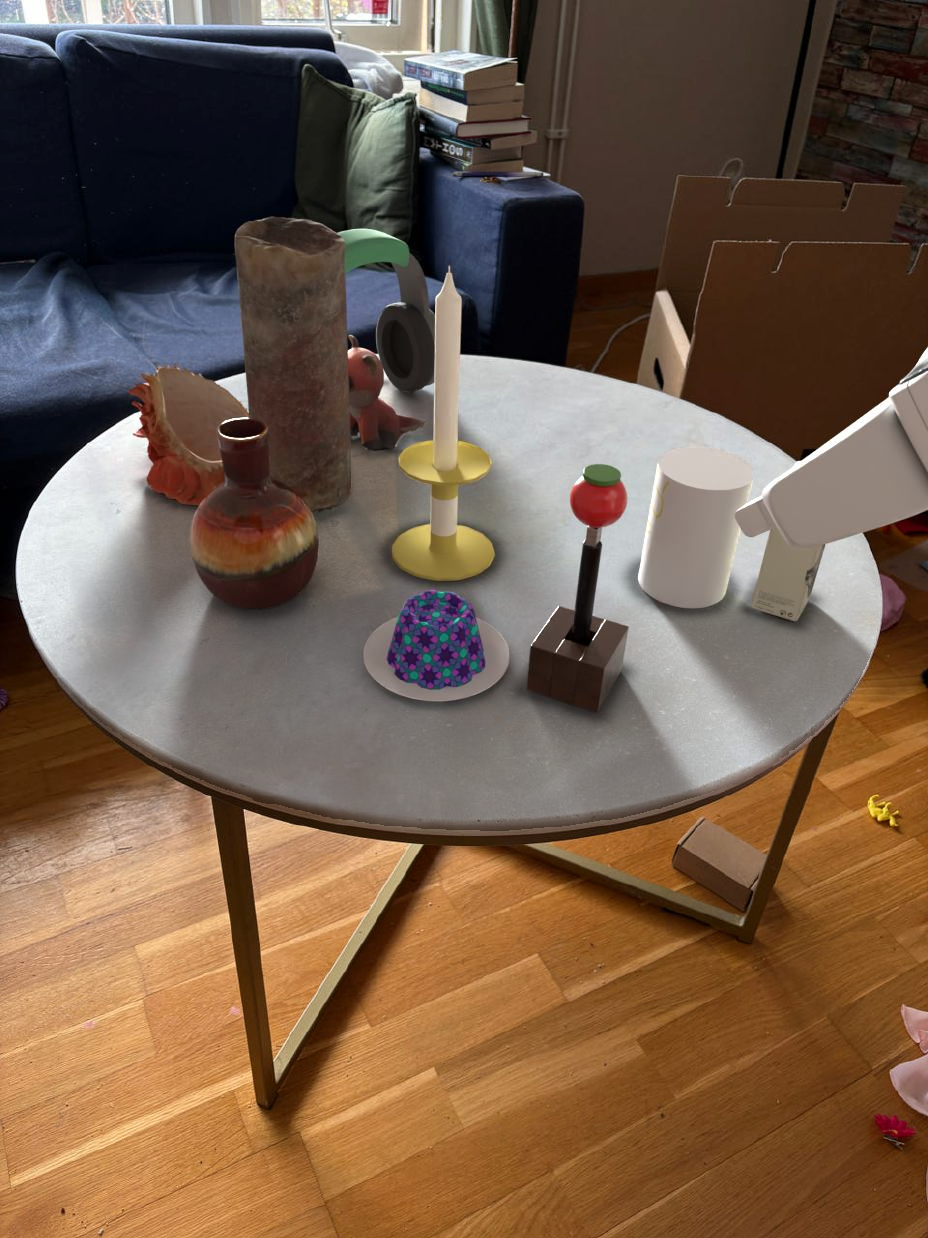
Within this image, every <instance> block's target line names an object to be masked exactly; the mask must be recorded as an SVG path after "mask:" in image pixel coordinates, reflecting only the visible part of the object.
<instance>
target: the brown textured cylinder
mask: <svg viewBox="0 0 928 1238" xmlns="http://www.w3.org/2000/svg"><path fill="white" fill-rule="evenodd" d="M338 233H339V232H336V231H334V230H332V229H331V228H329V227H328V226H326V225H324V224H323V223H320V222H317V221H313V220H311V219H305V218H300V219H298V218H293V217H287V218H286V217H281V216H278V217H277V216H269V217H266V218H262V219H255V220H253V221H247V222H244V223H243V224H242V225H240V227H238V228H237V230H236V232H235V235H234V253H235V254H234V255H235V263H236V264H235V265H236V278H237V287H238V298H239V299H238V301H239V313H240V326H241V333H242V335H241V336H242V344H243V345H242V346H243V360H244V370H245V383H246V384H245V385H246V393H247V395H246V396H247V412H248V413H249V418H251V419H257V420H260V421H262V422H264V423H265V424H266V425H267V426H268V435H269V468H270V476H271V478H273V479H276V480H278V481H280V482H282V483H284V484H286V485H288V486H289V487H290V488H292V489H293V490H294V491H296V492H297V493H298V494H299V495H300V496H301V497H302V498H303V499H304V500H305V502H306V503H307V505H308V506H309V508H310V510H311V511H312V513H313V512H316V513H321V512H323V511H328V510H332V509H335V508H337V507H339V506H341V505H343V504H344V503H345V501H347V500H348V498H349V497H350V495H351V493H352V486H353V483H352V481H353V478H352V438H351V437H352V436H351V434H350V404H349V380H348V350H349V344H348V319H347V318H348V317H347V316H348V314H347V309H348V308H347V287H346V285H347V284H346V283H347V282H346V274H345V241H344V239H343V238H342V237H341V236H340V235H339V234H338Z"/></svg>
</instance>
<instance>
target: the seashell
mask: <svg viewBox="0 0 928 1238" xmlns="http://www.w3.org/2000/svg"><path fill="white" fill-rule="evenodd" d="M140 377H141V378H142V379H143V380H144V381H145V382H138V383H135V387H132V388H129V389H128V390H127V391H128V394H130V395H133V396H136V397H137V398H139V399H140V401H141V402H143V403H144V405H143V404H141V403H140V402H138V401H136V400H133V401H132V402H131V403H130V404H131V405H133V406H134V407H136V408H138V410H139V411H140V413H141V415H140V417H139V421H140V424H141V426H140V428H138V430H136V432H132V436H134V437H136V438H140V439H147V441H148V446H146V447H147V449H146V450H147V451H146V453H147V454H148V455H147V457H148V459H149V460H150V461H151V463H152V466H151V467H150V470H149V471H148V473H147V476H146V482H147V486H149V487H150V488H151V489H152V491H153V492H156V493H157V494H164V495H165V497H166V498H168V499H171V500H176V501H177V502H179V504H180V505H188V506H189V505H190V506H199V505H200V503H201V501H202V500H203V499H204V498H205V497H206V496H207V494H208V493H209V492H210V491H212V490H213V489H214V488H215V487H217V486H218V485H220V484H221V483H223V482H225V474H224V467H223V462H222V457H221V453H220V448H219V444H218V439H217V433H216V430H217V428H218V426H219V425H220V424H222V423H224V422H226V421H229V420H233V419H239V418H249V411H248V407H247V408H246V407H245V406H244V405H243V403H242V401H240V400H238V399H237V397H235V396H234V395H233V394H232V393H231V392H230V391H229V390H227V388H225V387H223V386H221V385H220V384H219V383H218V384H217V382H216V381H214V380H212V379H208V378H205V377H204V376H202V374H201V373H200V372H199V373H198V374H194V372H193V371H189V370H188V368H187V366H183V370H182V369H181V368H179V366H178V364H177V362H174V363H173V367H171V366H170V365H169V364H166V365H165V366H160V365H159V364H157V367H156V372H155V374H153V373H151V374H148V373H147V374H146V373H140Z"/></svg>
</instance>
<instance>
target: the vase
mask: <svg viewBox="0 0 928 1238" xmlns="http://www.w3.org/2000/svg"><path fill="white" fill-rule="evenodd" d="M216 433H217V439H218V444H219V448H220V453H221V457H222V462H223V467H224V474H225V482H223V483H221V484H220V485H218V486H217V487H215V488H214V489H213V490H212V491H210V492H209V493H208V494H207V496H206V497H205V498H204V499H203V500H202V501H201V503H200V505H197V508H196V510H195V512H194V514H193V517H192V520H191V523H190V528H189V550H190V555H191V560H192V562H193V565H194V568H195V570H196V573H197V574H198V577H199V578H200V580H201V582H202V583H203V585H204V586H205V587H206V589H207V590H208V591H209V592H210V593H211V594H212V595H213V596H214V597H216V598H217V599H218V600H219V601H221V602H223V603H224V604H226V605H229V606H231V607H234V608H238V609H242V610H252V611H253V610H258V611H259V610H266V609H267V610H268V609H272V608H273V609H274V608H276V607H279V606H282V605H284V604H286V603H287V604H288V602H290V601H292V600H294V598H296V597H298V596H299V595H300V594H301V593H302V592H303V591H304V590H305V589H306V588H307V587H308V585H309V583H310V582H311V580H312V578H313V575H314V574H315V570H316V568H317V563H318V559H319V551H320V533H319V529H318V524H317V520H316V517H315V515H314V514H313V511H311V510H310V508H309V506H308V505H307V503H306V502H305V500H304V499H303V498H302V497H301V496H300V495H299V494H298V493H297V492H296V491H294V490H293V489H292V488H290V487H289V486H288V485H286V484H284V483H282V482H280V481H278V480H276V479H273V478H271V476H270V468H269V435H268V426H267V425H266V424H265V423H264V422H262V421H260V420H257V419H251V418H239V419H233V420H229V421H226V422H224V423H222V424H220V425H219V426H218V428H217V430H216Z"/></svg>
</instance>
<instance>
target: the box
mask: <svg viewBox="0 0 928 1238" xmlns="http://www.w3.org/2000/svg"><path fill="white" fill-rule="evenodd" d="M801 461H802V460H798V461H796V462H795V463H794V464H793V466H792V467H791V468H793V467H794V466H795V465H797V464H798V463H799V462H801ZM826 545H827V544H824V545H820V546H816V547H811V548H795V547H791V546H790V545H788V543H787V542H786V541H785V539H784V538H783V536H782V534H781V533H780V531H779V529H771V530H769V533H768V536H767V541H766V545H765V549H764V553H763V557H762V559H761V560H762V561H761V565H760V569H759V571H758V576H757V580H756V585H755V588H754V592H753V594H752V595H753V596H752V599H751V602H750V608H752V609H754V610H758V611H760V612H763V613H767V614H769V615H773V616H776V617H779V618H782V619H786V620H789V621H792V622H797V621H798V620H799V618H800V617H801V616H802V613H803V612H804V610H805V608H806V607H807V604H808V602H809V601H810V598H811V595H812V592H813V588H814V585H815V581H816V578H817V574H818V572H819V569H820V565H821V561H822V558H823V555H824V551H825V548H826Z"/></svg>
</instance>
